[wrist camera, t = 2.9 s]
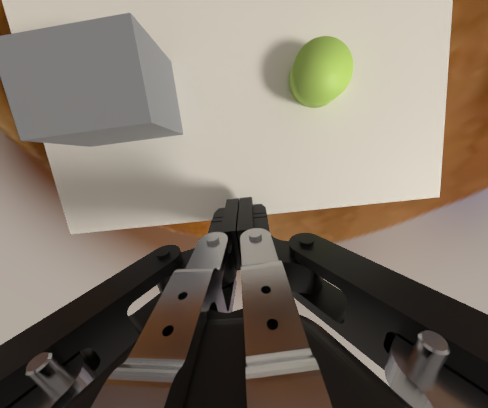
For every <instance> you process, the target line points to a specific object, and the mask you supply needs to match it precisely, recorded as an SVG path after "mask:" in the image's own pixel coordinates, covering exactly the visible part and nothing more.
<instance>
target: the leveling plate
mask: <svg viewBox="0 0 488 408" xmlns="http://www.w3.org/2000/svg"><path fill="white" fill-rule="evenodd" d="M2 3H3V7H4V10H5V13H6V17H7V20H8V24H9V27H10V31H11V34H8V35H2V36H0V77H1V80H2V83H3V87H4V90H5V93H6V96H7V99H8V102H9V106H10V109H11V112H12V115H13V118H14V122H15V125H16V128H17V131H18V134H19V138H20V141H30V142H41V143H44V146H45V150H46V153H47V156H48V160H49V163H50V167H51V170H52V173H53V177H54V180H55V184H56V187H57V190H58V194H59V197H60V201H61V204H62V208H63V211H64V214H65V218H66V221H67V225H68V228H69V231H70V234H78V233H88V232H98V231H108V230H118V229H128V228H137V227H148V226H158V225H168V224H178V223H187V222H197V221H207V220H212V219H213V215H214V212H215V211H216V210H218V209H219V208H225V205H226V200H227V199H235V198H239V200H240V198H244V197H252V202H253V205H254V204H262V205H263V206H265V207H266V213H267V214H277V213H287V212H297V211H306V210H316V209H326V208H336V207H346V206H356V205H366V204H376V203H386V202H396V201H406V200H416V199H426V198H435V197H440V185H441V169H442V154H443V139H444V124H445V109H446V94H447V79H448V64H449V49H450V34H451V19H452V4H453V0H2Z"/></svg>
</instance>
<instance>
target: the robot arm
mask: <svg viewBox="0 0 488 408" xmlns="http://www.w3.org/2000/svg"><path fill="white" fill-rule="evenodd" d="M237 270H241V282H242V300H243V309H240V310H237V311H234V312H232V308H233V303H234V296H235V290H236V272H237ZM323 279H325V280H327V281H328V282H330V283H331V284H333V285H335V286H336V287H338V288H339V289H340V290H339V289H337V288H336V287H334V286H333V285H331V284H329V283H327V282H326V281H325V280H323ZM156 285H158V288H159V290H160V294H158V295H157V296H156V297H154V298H153V299H152V300H151V301H149V302H148V303H147V304H145V305H144V306H143V307H142V308H140V309H139V310H138V311H136V312H135V313H134V314H132V315H131V316H128V315H127V310H128V308H129V306H130V305H131V304H132V303H133V302H134V301H135V300H137V299H138V298H139V297H141V296H142V295H143V294H145V293H146V292H147V291H149V290H150V289H151V288H153V287H154V286H156ZM294 298H295V299H296V300H297V301H299V302H300V303H301V304H303V305H304V306H305V307H306V308H307V309H309V310H310V311H311V312H313V313H314V314H315V315H316V316H317V317H319V318H320V319H321V320H322V321H324V322H325V323H326V324H327V325H329V326H330V327H331V328H332V329H334V330H335V331H336V332H338V333H339V334H340V335H341V336H342V337H344V338H345V339H346V340H347V341H349V342H350V343H351V344H352V345H354V346H355V347H356V348H357V349H359V350H360V351H361V352H362V353H364V354H365V355H366V356H367V357H369V358H370V359H371V360H373V361H374V362H375V363H376V364H377V365H379V366H380V367H381V368H383V369H384V370H385V375H386V379H387V381H388V383H389V385H390V387H391V388H390V387H389V386H388V385H387V384H386V383H384V382H383V381H382V380H381V379H380V378H379V377H378V376H377V375H375V374H374V373H373V372H372V371H371V370H370V369H369V368H368V367H366V366H365V365H364V364H363V363H362V362H361V361H360V360H358V359H357V358H356V357H355V356H354V355H353V354H351V353H350V352H349V351H348V350H347V349H346V348H345V347H344V346H342V345H341V344H340V343H339V342H338V341H337V340H336V339H335V338H333V337H332V336H331V335H330V334H329V333H327V331H325V330H324V329H323V328H322V327H321V326H319V325H318V324H316V323H315V322H313V321H312V320H310V319H308V318H306V317H304V316H301V315H299V313H298V310H297V307H296V304H295V300H294ZM0 408H488V315H487V314H485V313H483V312H481V311H478V310H476V309H474V308H472V307H470V306H468V305H466V304H464V303H461V302H459V301H457V300H455V299H453V298H451V297H448V296H446V295H444V294H442V293H440V292H438V291H436V290H433V289H431V288H429V287H427V286H425V285H423V284H420V283H418V282H416V281H414V280H412V279H409V278H407V277H405V276H403V275H401V274H399V273H397V272H394V271H392V270H390V269H388V268H386V267H384V266H382V265H379V264H377V263H375V262H373V261H371V260H369V259H366V258H364V257H362V256H360V255H358V254H356V253H354V252H351V251H349V250H347V249H345V248H343V247H341V246H339V245H336V244H334V243H332V242H330V241H328V240H326V239H323V238H321V237H319V236H317V235H314V234H311V233H300V234H296V235H294V236H292V237H291V238H290V240H289V241H282V240H278V239H276V238H274V237H273V236H272V235H271V234H270V232H269V225H268V219H267V213H266V207H265V206H263V205H262V204H254V205H253V202H252V197H244V198H240V200H239V198H235V199H227V200H226V205H225V208H219V209H218V210H216V211H215V212H214V215H213V219H212V221H211V225H210V228H209V231H208V234H206V235H204V236H203V237H201V238H200V239H199V241H198V243H197V245H196V247H195V248H194V249H191V250H187V251H184V252H181V251H180V248H179V247H178V246H176V245H166V246H163V247H160V248H158V249H156V250H154V251H153V252H151V253H150V254H148V255H146V256H145V257H143V258H142V259H140V260H138V261H137V262H135V263H133V264H132V265H130V266H129V267H127V268H125V269H124V270H122V271H121V272H119V273H117V274H116V275H114V276H112V277H111V278H109V279H107V280H106V281H104V282H103V283H101V284H99V285H98V286H96V287H94V288H93V289H91V290H89V291H88V292H86V293H85V294H83V295H82V296H80V297H79V298H77V299H75V300H73V301H72V302H70V303H69V304H67V305H65V306H64V307H62V308H60V309H59V310H57V311H55V312H54V313H52V314H51V315H49V316H47V317H46V318H44V319H42V320H41V321H39V322H38V323H36V324H34V325H33V326H31V327H30V328H28V329H26V330H25V331H23V332H21V333H20V334H18V335H16V336H15V337H13V338H12V339H10V340H8V341H7V342H5V343H4V344H2V345H0Z"/></svg>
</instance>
